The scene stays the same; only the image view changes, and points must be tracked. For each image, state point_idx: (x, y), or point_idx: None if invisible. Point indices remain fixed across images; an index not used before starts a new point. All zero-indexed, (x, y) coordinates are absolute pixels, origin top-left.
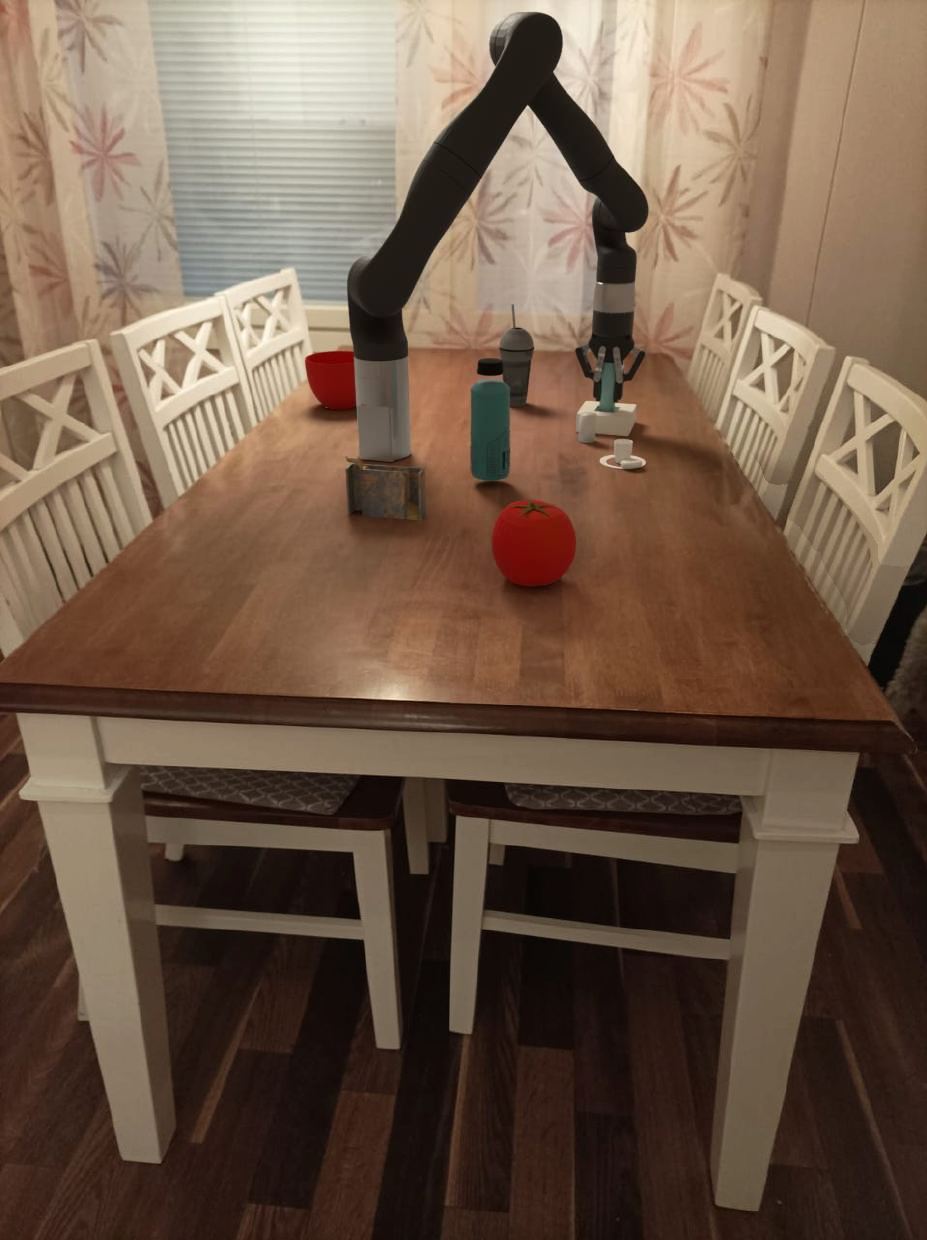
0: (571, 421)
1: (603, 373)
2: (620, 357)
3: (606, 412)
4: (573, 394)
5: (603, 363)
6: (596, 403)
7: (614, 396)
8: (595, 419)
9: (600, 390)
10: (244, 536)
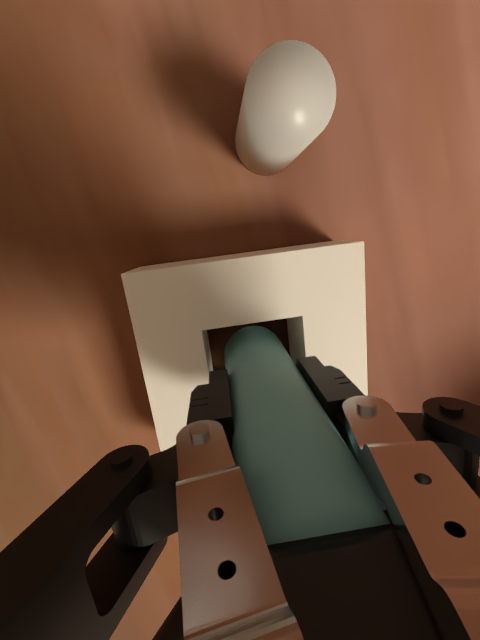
0: (375, 360)
1: (335, 441)
2: (183, 618)
3: (245, 318)
4: None
5: (384, 513)
6: None
7: (226, 379)
8: (242, 99)
9: (312, 390)
10: None
